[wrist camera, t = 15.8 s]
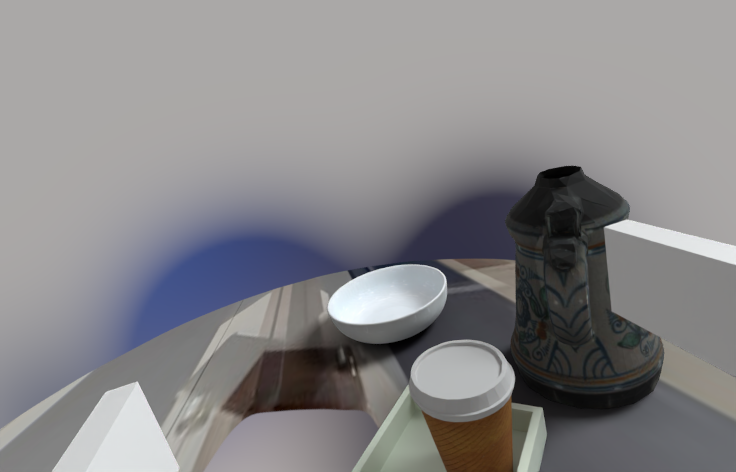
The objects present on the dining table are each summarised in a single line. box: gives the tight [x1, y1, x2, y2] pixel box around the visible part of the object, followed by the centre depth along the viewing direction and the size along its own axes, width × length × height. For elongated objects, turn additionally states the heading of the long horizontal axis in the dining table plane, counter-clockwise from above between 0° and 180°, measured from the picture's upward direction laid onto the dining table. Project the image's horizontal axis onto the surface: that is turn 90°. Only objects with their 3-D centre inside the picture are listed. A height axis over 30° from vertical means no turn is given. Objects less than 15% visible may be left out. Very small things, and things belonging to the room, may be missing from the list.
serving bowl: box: [327, 265, 447, 344], centre depth 72 cm, size 21×21×7 cm
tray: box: [352, 386, 547, 472], centre depth 41 cm, size 16×16×4 cm
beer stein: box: [505, 166, 664, 409], centre depth 47 cm, size 16×19×25 cm
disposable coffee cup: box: [409, 340, 515, 472], centre depth 39 cm, size 10×10×12 cm
